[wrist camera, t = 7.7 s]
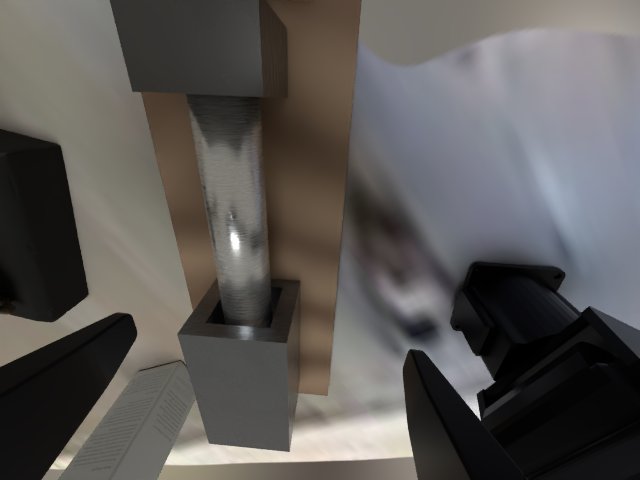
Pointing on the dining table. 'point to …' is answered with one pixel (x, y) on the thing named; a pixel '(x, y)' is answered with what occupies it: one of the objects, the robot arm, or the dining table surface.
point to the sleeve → (246, 370)
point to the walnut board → (281, 172)
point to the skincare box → (137, 428)
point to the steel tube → (218, 121)
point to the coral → (37, 232)
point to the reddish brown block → (294, 0)
